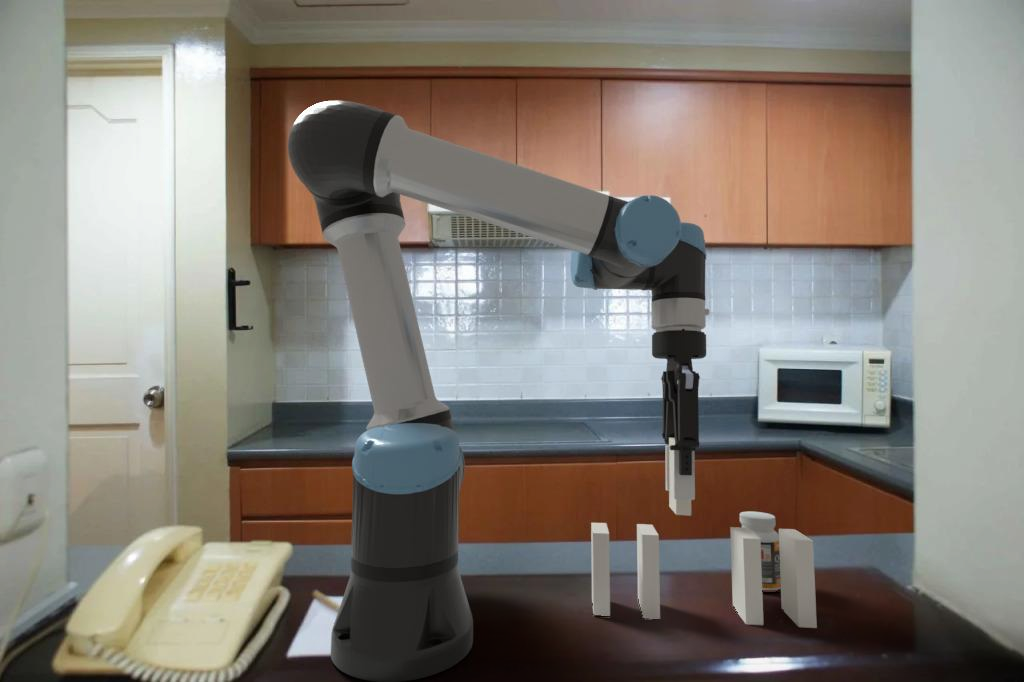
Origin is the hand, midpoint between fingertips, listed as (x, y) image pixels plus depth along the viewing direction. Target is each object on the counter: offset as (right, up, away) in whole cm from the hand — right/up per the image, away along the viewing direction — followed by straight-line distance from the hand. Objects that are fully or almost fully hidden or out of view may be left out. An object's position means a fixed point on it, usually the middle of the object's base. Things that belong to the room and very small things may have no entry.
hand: (679, 494), depth 73 cm
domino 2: (-6, -12, -8) cm, 16 cm away
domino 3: (0, -2, 0) cm, 2 cm away
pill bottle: (+12, -13, 0) cm, 18 cm away
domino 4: (+5, -12, -9) cm, 16 cm away
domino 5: (+11, -12, -10) cm, 19 cm away
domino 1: (-12, -12, -7) cm, 19 cm away
